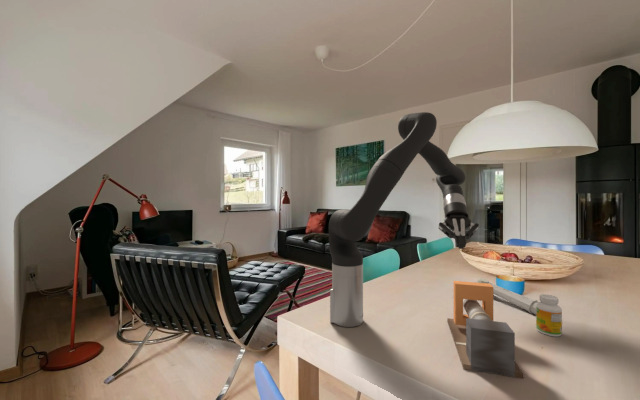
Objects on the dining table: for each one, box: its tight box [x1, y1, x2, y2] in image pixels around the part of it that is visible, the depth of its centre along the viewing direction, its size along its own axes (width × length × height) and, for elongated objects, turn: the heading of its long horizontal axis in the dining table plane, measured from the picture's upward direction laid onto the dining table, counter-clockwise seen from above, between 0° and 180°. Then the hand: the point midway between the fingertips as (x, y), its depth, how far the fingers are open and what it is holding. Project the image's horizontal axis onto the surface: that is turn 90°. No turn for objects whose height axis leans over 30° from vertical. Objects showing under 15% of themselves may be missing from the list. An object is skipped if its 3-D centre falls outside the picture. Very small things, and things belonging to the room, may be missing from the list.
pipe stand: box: [447, 299, 524, 379], centre depth 69 cm, size 11×24×9 cm, turn 163°
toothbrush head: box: [476, 277, 540, 316], centre depth 97 cm, size 5×7×25 cm
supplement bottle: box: [535, 293, 563, 338], centre depth 76 cm, size 5×5×10 cm
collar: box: [453, 280, 494, 326], centre depth 75 cm, size 9×3×11 cm, turn 73°
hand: (461, 247), depth 90 cm, fingers closed
